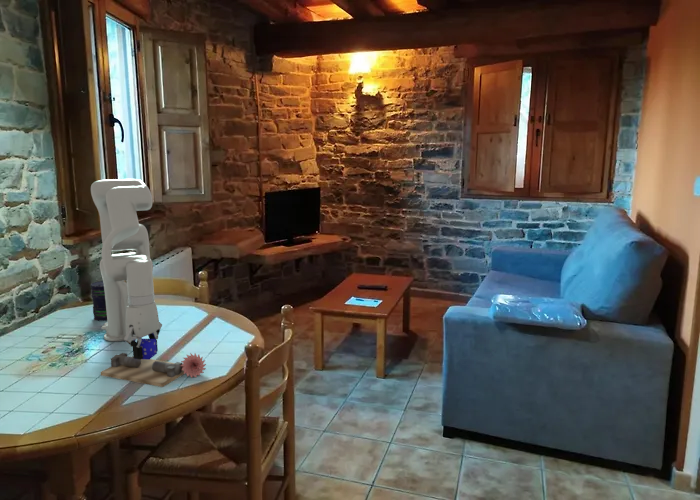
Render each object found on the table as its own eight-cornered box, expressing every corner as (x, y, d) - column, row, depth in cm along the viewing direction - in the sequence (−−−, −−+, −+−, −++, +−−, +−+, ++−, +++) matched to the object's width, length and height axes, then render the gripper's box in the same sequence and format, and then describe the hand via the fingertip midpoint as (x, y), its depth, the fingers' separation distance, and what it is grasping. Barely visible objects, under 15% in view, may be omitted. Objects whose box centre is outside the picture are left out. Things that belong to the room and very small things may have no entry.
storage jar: (102, 313, 232) (99, 280, 230) (123, 314, 231) (121, 280, 228) (88, 320, 223) (85, 285, 220) (110, 321, 221) (107, 286, 219)
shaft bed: (99, 375, 168) (98, 362, 167) (132, 359, 181) (131, 347, 180) (163, 387, 159) (162, 374, 158) (193, 369, 172) (192, 357, 171)
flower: (182, 352, 171) (186, 347, 166) (206, 359, 173) (210, 355, 169) (174, 376, 167) (178, 372, 162) (199, 383, 169) (204, 379, 165)
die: (142, 353, 172) (141, 338, 171) (157, 353, 171) (156, 338, 170) (134, 359, 167) (133, 343, 166) (149, 359, 166) (148, 344, 165)
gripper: (151, 292, 175) (155, 344, 178) (110, 305, 159) (115, 363, 162) (169, 293, 172) (173, 347, 175) (130, 308, 156) (135, 366, 160)
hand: (145, 354), depth 169 cm, fingers closed on die, 6 cm apart
